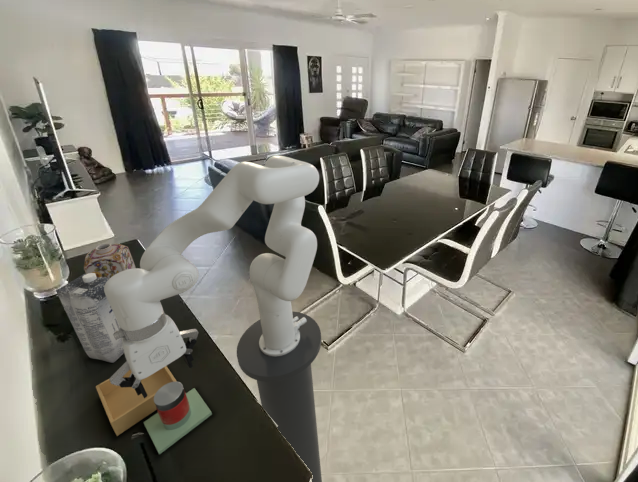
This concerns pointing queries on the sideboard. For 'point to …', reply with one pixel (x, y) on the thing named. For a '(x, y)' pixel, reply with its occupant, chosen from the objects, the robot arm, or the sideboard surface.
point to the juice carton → (92, 316)
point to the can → (172, 405)
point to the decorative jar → (108, 260)
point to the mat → (169, 437)
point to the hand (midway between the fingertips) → (167, 378)
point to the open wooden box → (131, 399)
